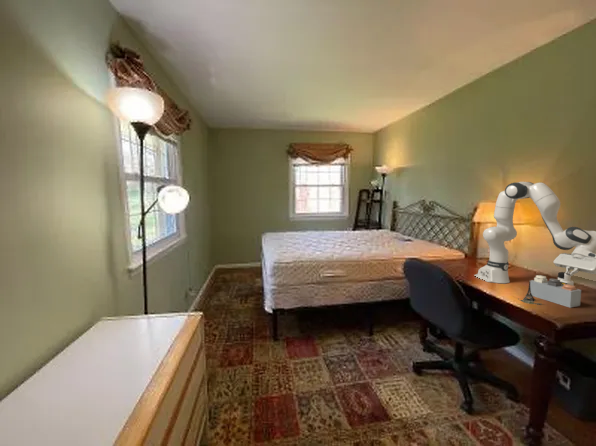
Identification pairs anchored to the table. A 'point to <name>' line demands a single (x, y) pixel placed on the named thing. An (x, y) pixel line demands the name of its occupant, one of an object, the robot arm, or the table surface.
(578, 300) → the button console
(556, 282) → the button charcoal
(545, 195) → the robot arm
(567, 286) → the button terracotta
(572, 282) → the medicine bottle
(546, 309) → the table surface
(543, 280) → the button cream
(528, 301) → the eiffel tower figurine
